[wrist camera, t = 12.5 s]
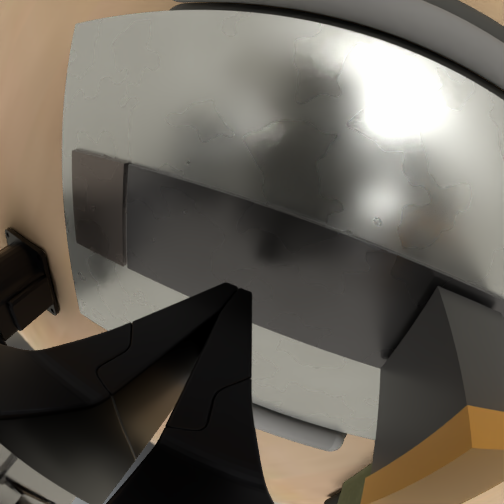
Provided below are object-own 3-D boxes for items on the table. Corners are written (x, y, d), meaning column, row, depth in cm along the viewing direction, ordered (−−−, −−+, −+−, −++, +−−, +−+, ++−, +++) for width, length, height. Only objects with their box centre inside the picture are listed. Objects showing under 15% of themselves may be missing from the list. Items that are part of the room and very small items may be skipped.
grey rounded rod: (151, 353, 19) (129, 381, 16) (150, 312, 16) (121, 342, 14) (342, 429, 16) (334, 465, 14) (372, 399, 14) (367, 441, 12)
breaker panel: (99, 296, 18) (77, 315, 16) (107, 27, 9) (71, 23, 8) (442, 426, 13) (443, 454, 12) (601, 202, 5) (628, 221, 3)
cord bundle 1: (174, 44, 9) (127, 34, 7) (196, -38, 7) (156, -62, 5) (519, 155, 7) (559, 172, 4) (538, 64, 5) (578, 60, 2)
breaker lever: (376, 369, 10) (359, 506, 5) (436, 282, 8) (471, 448, 3) (440, 387, 9) (443, 511, 5) (504, 311, 7) (550, 448, 3)
